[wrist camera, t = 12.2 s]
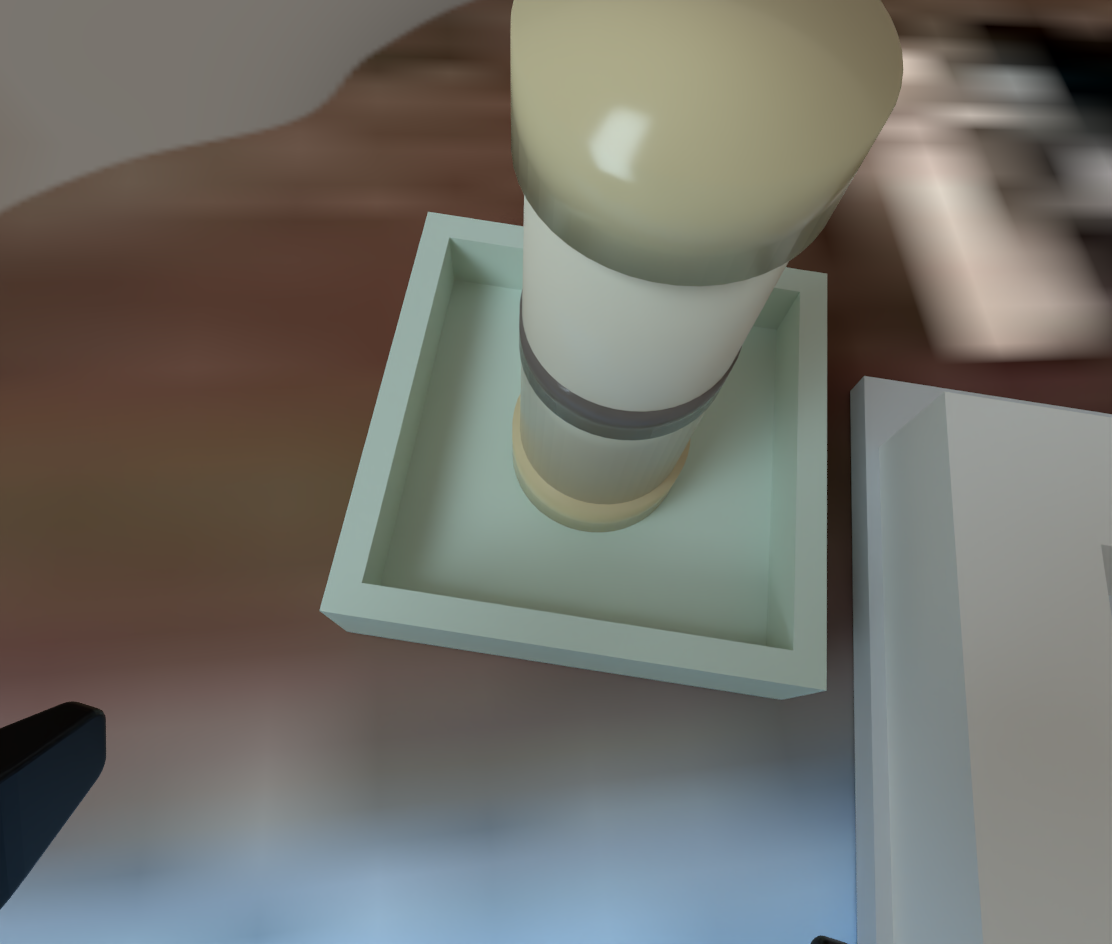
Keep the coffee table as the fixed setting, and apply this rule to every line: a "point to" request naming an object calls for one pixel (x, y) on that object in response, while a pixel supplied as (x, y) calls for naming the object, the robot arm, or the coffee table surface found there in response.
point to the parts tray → (578, 556)
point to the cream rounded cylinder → (667, 215)
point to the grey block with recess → (981, 667)
